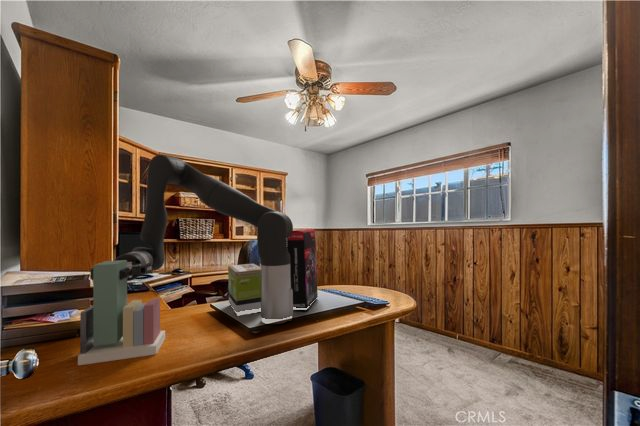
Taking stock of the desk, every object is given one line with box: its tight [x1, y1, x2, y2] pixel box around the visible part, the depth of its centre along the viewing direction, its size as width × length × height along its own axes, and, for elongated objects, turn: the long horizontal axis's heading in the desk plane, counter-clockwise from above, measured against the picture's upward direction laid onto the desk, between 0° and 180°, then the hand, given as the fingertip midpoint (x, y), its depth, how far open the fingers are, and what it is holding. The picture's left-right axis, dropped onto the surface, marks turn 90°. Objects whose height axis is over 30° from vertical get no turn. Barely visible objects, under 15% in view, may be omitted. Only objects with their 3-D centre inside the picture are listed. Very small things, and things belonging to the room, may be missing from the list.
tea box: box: [227, 263, 261, 312], centre depth 101 cm, size 15×10×15 cm, turn 27°
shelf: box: [77, 297, 166, 366], centre depth 69 cm, size 15×10×11 cm, turn 108°
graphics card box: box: [287, 228, 319, 308], centre depth 104 cm, size 17×7×27 cm, turn 168°
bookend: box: [79, 304, 94, 355], centre depth 67 cm, size 1×8×9 cm, turn 18°
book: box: [92, 260, 128, 346], centre depth 68 cm, size 4×7×18 cm, turn 18°
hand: (108, 276), depth 67 cm, fingers closed on book, 4 cm apart
